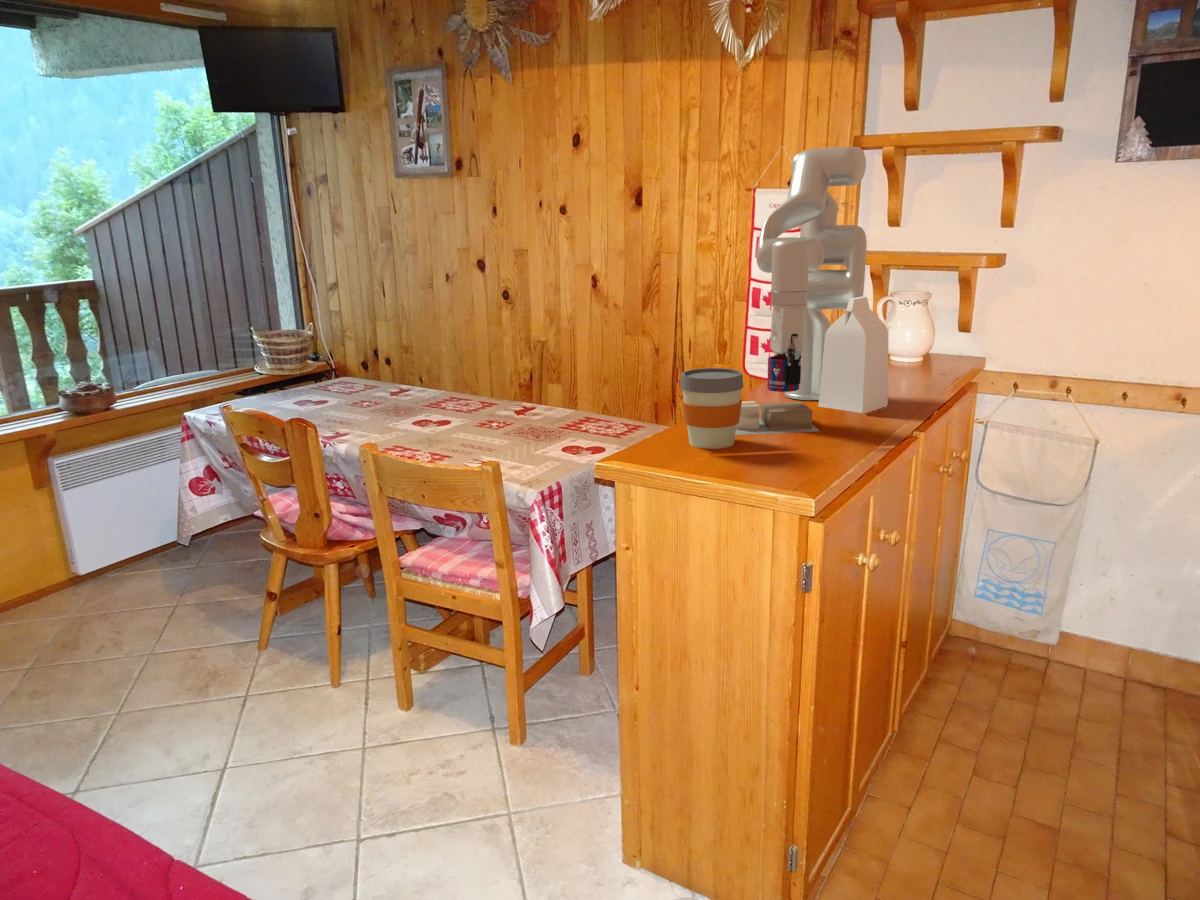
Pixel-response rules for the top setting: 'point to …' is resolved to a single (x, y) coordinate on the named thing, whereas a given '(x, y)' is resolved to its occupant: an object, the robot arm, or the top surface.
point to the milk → (855, 361)
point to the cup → (778, 375)
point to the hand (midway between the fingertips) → (786, 380)
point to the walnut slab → (786, 415)
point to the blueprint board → (765, 430)
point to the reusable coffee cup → (711, 406)
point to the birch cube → (749, 416)
